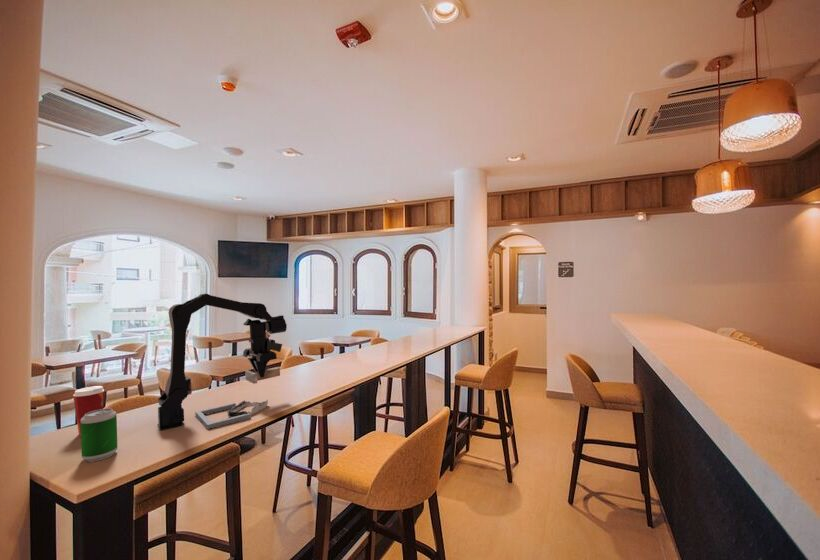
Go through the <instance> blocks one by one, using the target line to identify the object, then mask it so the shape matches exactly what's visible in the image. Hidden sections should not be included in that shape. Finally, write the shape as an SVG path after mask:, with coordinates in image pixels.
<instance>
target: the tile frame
mask: <svg viewBox="0 0 820 560" xmlns="http://www.w3.org/2000/svg"><path fill="white" fill-rule="evenodd" d="M236 405H237V404H236V403H235V402H232V403H228V404H227V403H226V404H223V405H219V406H215V407H211V408H205V409H202V410H197V411H194V412H195V413H194V415H196V416H195V417H196V419H198V420H199V422H200V421H201V422H202V423H203V424H204V425H205V426H204V425H203V424H202V423H201V422H200V423H201V424H202V425H203V426H204V427H205V428H206V429H207V430H208V429H209V430H211V429H210V428H212V429H215V428H214V427H216V428H219V427H218V426H220V427H223V426H222V425H224V426H226V425H225V424H228V425H230V424H229V423H232V424H234V423H233V422H236V423H238V422H237V421H239V422H242V421H246V420H250V419H251V416H250V414H249V413H247V414H243V415H239V416H235V417H228V418H225V419H224V418H223V419H219V420H216V421H211V420H210V419H209V418H208V416H206V415H204V414H207V415H209V414H208V413H211V414H214V413H213V412H215V413H218V412H217V411H220V412H223V411H222V410H224V411H227V410H226V409H228V410H230V408H233V407H235V406H236Z"/></svg>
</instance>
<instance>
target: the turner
mask: <svg viewBox="0 0 820 560" xmlns="http://www.w3.org/2000/svg"><path fill="white" fill-rule="evenodd" d="M244 372H245V374H244V376H245V377H244V378H245V380H246V381H247V382H250V383H251V384H253V385H255V384H258V382H259V381H263V380H267V379H271V378H276V377H280V376H281V368H280V367H277V366H276V367H272V368H266V369H265V374H264V377H260V375H259V373H258V371H256V372H255V371H252V370H249V369H247V370H244Z"/></svg>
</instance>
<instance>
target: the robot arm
mask: <svg viewBox="0 0 820 560" xmlns="http://www.w3.org/2000/svg"><path fill="white" fill-rule="evenodd" d="M206 306H209V307H214V308H217V309H223V310H228V311H232V312H237V313H239V314H242V315H244V316H247V317H248V318H247V319H246V321H244V323H243V326H249V335H250V336H249V339H248V342H249V343H250V348H245V349H244V350H243V352H242V353H243V355H242V356H243V357H244V358H247V360H248V362H249V364H250V365H251V366H252V368H253V370H254V372H256V371H258V373H259V375H260V377H264V374H265V370H266V369H267V365H268V363H269V362H270V361H273V360H277V358H278V356H277V353H276V352H279V353H281V350H282V346H283V343H278V342H276V340H274V339H270V338H269V337H267V333H269V335H274V334H275V335H276V334H280V333H286V331H287V329H288V328H287V325H288V324H287V322H286V319H285V316H284V315H280V314H279V315H276V316H272V315H271V314H270V313H269V312H268V311H267V307H266V305H265V304H263V303H258V302H241V301H237V300H233V299H228V298H224V297H220V296H215V295H211V294H209V293H200V294H199V295H198V296H196V297H194V298H191V299H190V300H187V301H185V302H183V303H177V304H173V305H172V306H171V307H170V308H169V310H168V317H169V319H168V320H169V323H170V328H171V348H170V349H171V351H170V352H171V353H170V355H171V356H170V371H169V376H168V379H167V380H166V384H165V389H164V392H163V394H161V395H160V396H159V398H158V399H157V400H156V401H157V403H158V405H159V407H157V427H158V429H159V430H160V431H163V430H168V429H171V428H176V427H178V426H179V425H180V426H182V425H184V421H185V409H184V408H183V405H182V403H183V402H184V401H185V400H186V399H187V397H188V396H189V392H192V391H191V388H190V385H191V380H192V379H191V378H190V377H189V376H187V375H186V374H185V370H186V369H185V368H186V365H185V363H186V348H187V347H186V345H187V330H188V328H189V324H190V322H191V317H192V315H193V314H194V313H196V312H198V311H199V310H201V309H203V308H204V307H206ZM251 318H252V319H253V320H252V319H251ZM261 320H263V321H261ZM248 356H249V357H248ZM180 426H179V427H180Z"/></svg>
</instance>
